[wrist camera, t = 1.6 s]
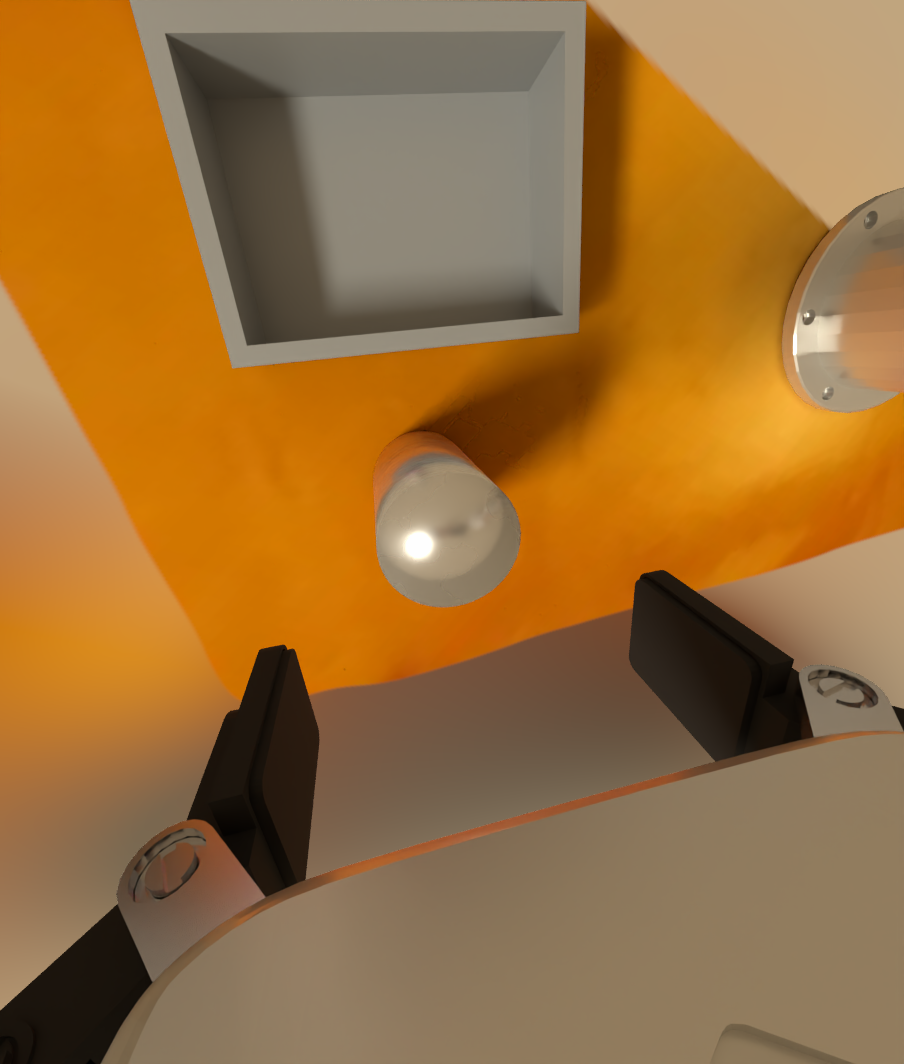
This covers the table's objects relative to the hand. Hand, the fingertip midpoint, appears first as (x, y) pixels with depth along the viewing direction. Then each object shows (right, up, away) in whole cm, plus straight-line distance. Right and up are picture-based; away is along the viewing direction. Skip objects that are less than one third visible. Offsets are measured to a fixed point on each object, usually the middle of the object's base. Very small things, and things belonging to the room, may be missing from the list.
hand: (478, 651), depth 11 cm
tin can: (-3, +6, +15) cm, 17 cm away
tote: (-4, +18, +10) cm, 21 cm away
